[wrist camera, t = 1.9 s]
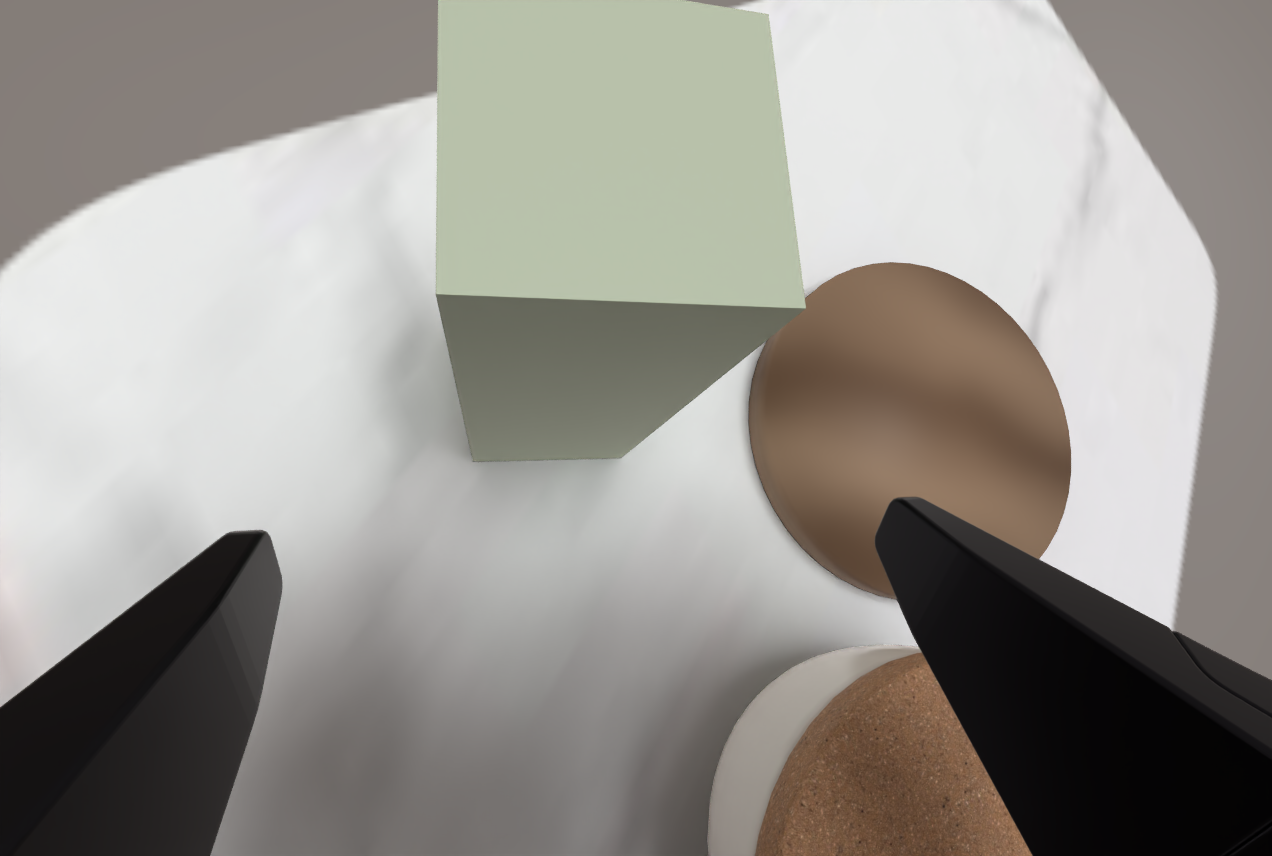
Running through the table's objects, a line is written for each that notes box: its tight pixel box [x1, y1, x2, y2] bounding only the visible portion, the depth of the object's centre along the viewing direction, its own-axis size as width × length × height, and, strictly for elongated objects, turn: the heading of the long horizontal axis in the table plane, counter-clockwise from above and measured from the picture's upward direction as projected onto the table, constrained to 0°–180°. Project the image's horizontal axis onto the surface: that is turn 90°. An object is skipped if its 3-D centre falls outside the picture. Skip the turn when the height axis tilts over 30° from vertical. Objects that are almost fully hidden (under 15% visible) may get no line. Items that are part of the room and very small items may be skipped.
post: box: [436, 0, 806, 462], centre depth 15 cm, size 5×5×13 cm
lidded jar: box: [707, 645, 1032, 856], centre depth 15 cm, size 11×11×9 cm
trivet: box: [749, 262, 1071, 599], centre depth 23 cm, size 13×13×2 cm
